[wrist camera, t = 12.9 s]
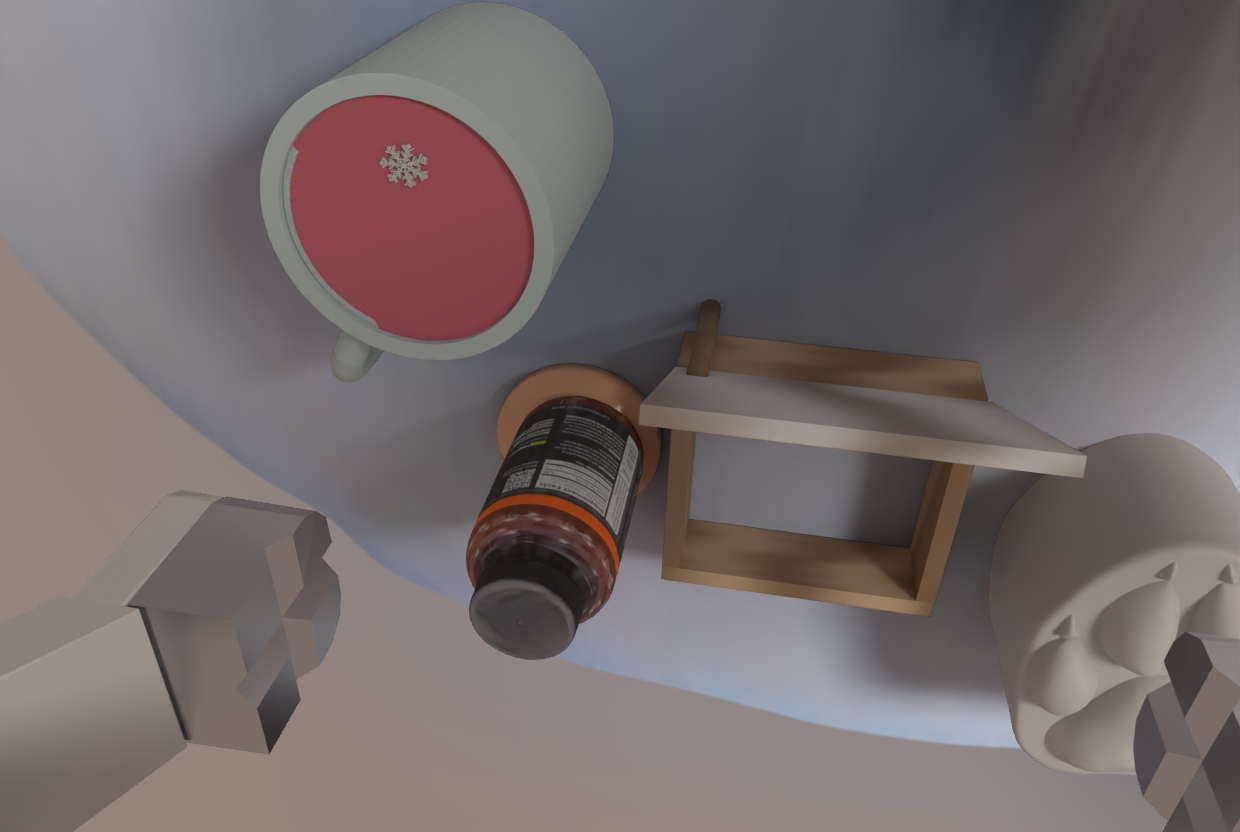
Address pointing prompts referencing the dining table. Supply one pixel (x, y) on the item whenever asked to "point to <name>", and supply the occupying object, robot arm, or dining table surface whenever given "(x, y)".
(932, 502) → the cold frame
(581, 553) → the supplement bottle
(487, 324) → the mug
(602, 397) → the saucer
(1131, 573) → the lumpy-topped squat cylinder
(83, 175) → the dining table surface
